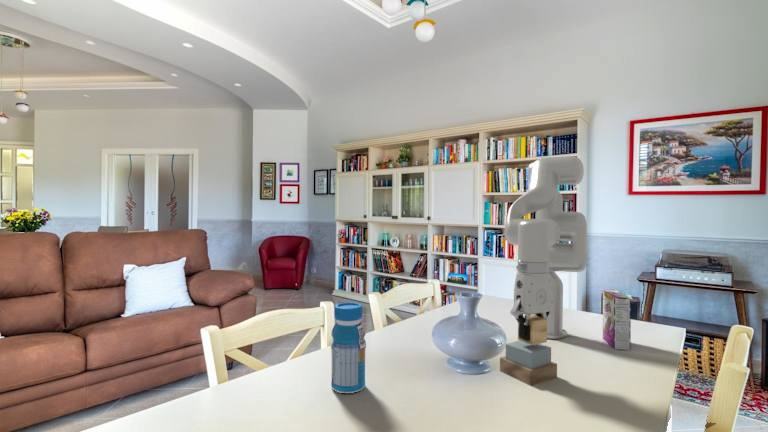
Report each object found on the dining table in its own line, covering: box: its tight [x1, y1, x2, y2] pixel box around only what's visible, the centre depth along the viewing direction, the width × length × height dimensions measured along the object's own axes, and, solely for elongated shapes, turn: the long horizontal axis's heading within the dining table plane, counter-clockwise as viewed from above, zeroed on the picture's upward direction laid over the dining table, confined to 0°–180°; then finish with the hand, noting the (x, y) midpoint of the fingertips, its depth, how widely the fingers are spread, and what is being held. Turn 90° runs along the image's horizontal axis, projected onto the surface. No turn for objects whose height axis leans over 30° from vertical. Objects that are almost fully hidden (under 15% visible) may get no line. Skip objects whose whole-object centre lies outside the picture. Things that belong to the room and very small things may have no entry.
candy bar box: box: [602, 289, 632, 351], centre depth 129 cm, size 11×5×16 cm, turn 168°
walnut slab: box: [499, 356, 558, 386], centre depth 106 cm, size 10×10×4 cm
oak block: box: [517, 314, 548, 345], centre depth 105 cm, size 5×5×6 cm
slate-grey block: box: [505, 340, 552, 369], centre depth 106 cm, size 8×8×4 cm
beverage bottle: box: [330, 301, 367, 394], centre depth 97 cm, size 8×8×20 cm
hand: (532, 336), depth 105 cm, fingers closed on oak block, 4 cm apart
